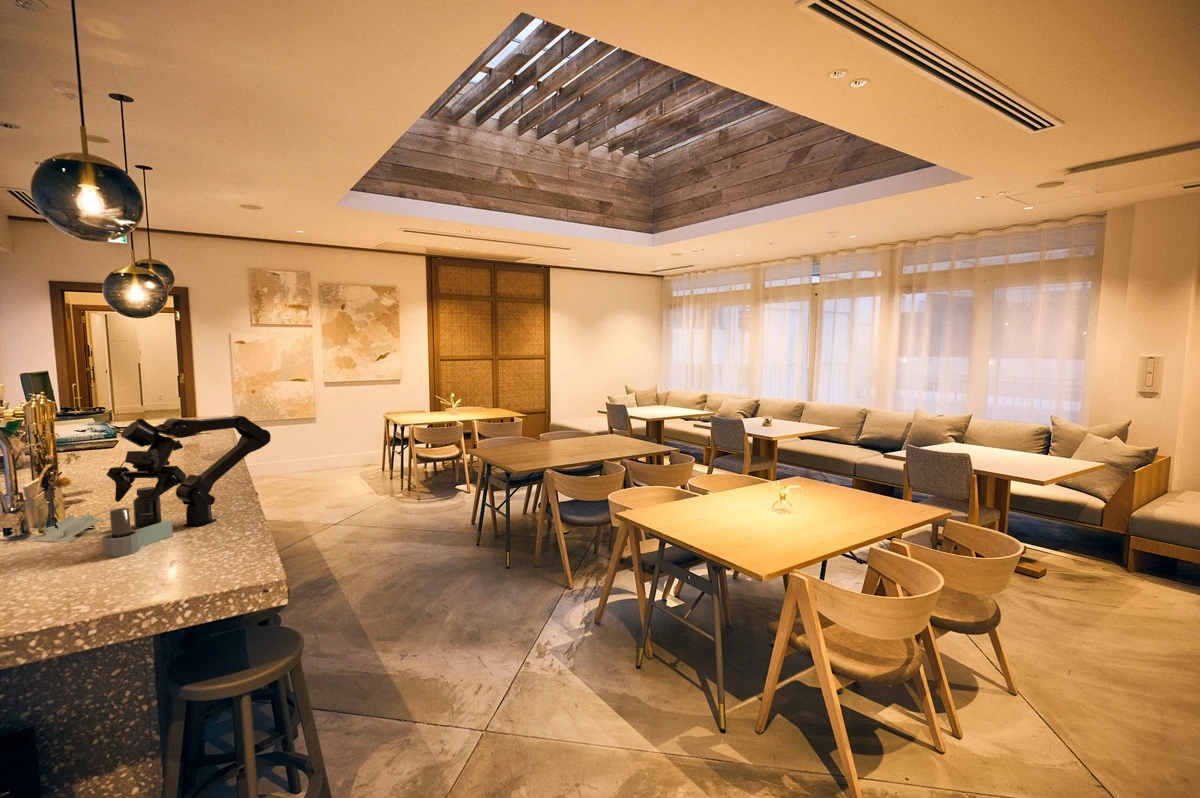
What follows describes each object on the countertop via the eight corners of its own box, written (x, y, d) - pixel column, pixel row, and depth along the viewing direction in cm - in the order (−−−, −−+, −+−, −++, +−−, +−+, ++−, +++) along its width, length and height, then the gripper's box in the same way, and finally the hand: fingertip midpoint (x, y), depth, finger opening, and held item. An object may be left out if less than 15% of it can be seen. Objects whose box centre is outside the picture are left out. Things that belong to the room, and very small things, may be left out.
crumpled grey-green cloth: (67, 510, 178) (107, 512, 175) (74, 526, 180) (114, 528, 177) (17, 537, 165) (60, 540, 162) (26, 554, 167) (68, 557, 164)
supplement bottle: (144, 529, 176) (141, 491, 175) (129, 527, 178) (126, 490, 177) (167, 523, 182) (164, 486, 181) (152, 521, 185) (149, 485, 184)
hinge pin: (122, 549, 159) (119, 507, 157) (136, 550, 158) (132, 508, 157) (109, 554, 155) (105, 511, 154) (122, 555, 154) (119, 512, 153)
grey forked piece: (136, 535, 171) (134, 519, 170) (176, 536, 170) (175, 520, 169) (78, 556, 153) (76, 538, 153) (122, 557, 152) (121, 539, 152)
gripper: (108, 439, 163) (80, 487, 153) (176, 438, 164) (152, 485, 155) (131, 461, 172) (105, 507, 162) (195, 459, 173) (174, 505, 163)
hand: (134, 500), depth 160 cm, fingers open, 9 cm apart
